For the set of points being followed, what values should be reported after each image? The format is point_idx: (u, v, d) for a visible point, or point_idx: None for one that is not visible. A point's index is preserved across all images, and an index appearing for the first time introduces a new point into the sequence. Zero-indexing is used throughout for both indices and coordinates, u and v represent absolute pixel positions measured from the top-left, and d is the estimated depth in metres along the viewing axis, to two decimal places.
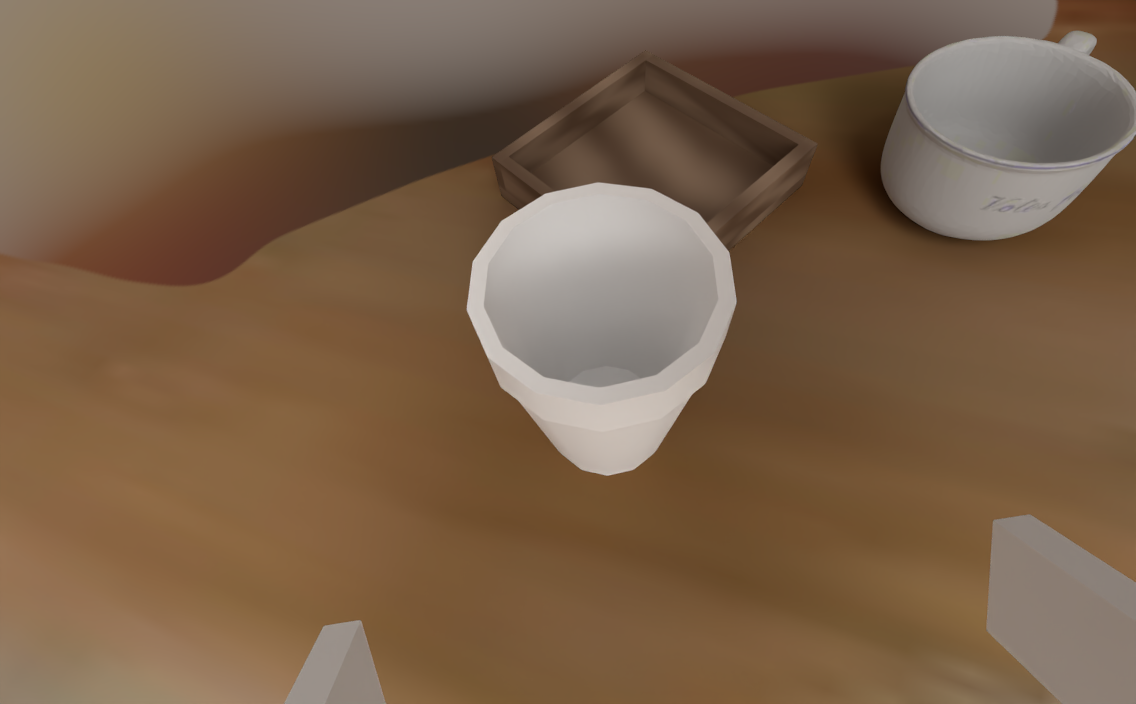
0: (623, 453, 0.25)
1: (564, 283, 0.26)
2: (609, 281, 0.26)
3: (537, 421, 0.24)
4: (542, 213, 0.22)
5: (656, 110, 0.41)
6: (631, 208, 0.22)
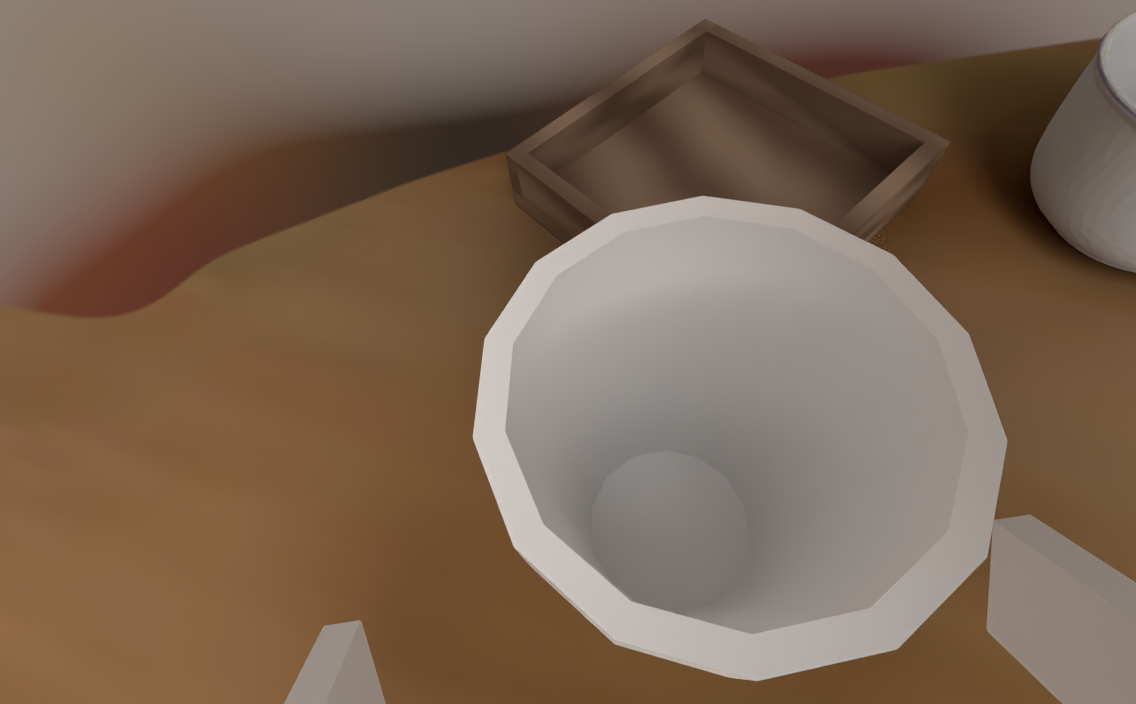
0: None
1: (626, 352, 0.16)
2: (693, 348, 0.17)
3: None
4: (606, 249, 0.12)
5: (717, 97, 0.32)
6: (760, 242, 0.13)
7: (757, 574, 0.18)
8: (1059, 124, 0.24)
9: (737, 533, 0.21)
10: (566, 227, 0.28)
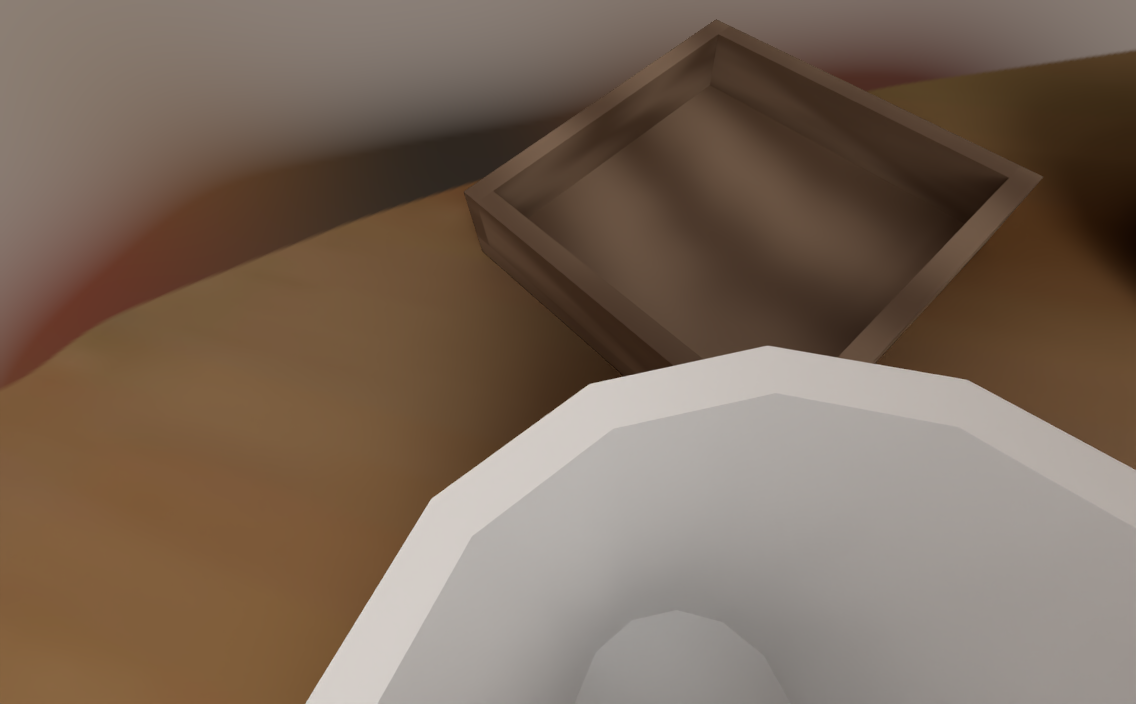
0: None
1: (620, 550, 0.10)
2: (728, 537, 0.10)
3: None
4: (579, 461, 0.06)
5: (731, 115, 0.26)
6: (884, 439, 0.06)
7: None
8: None
9: None
10: (543, 286, 0.21)
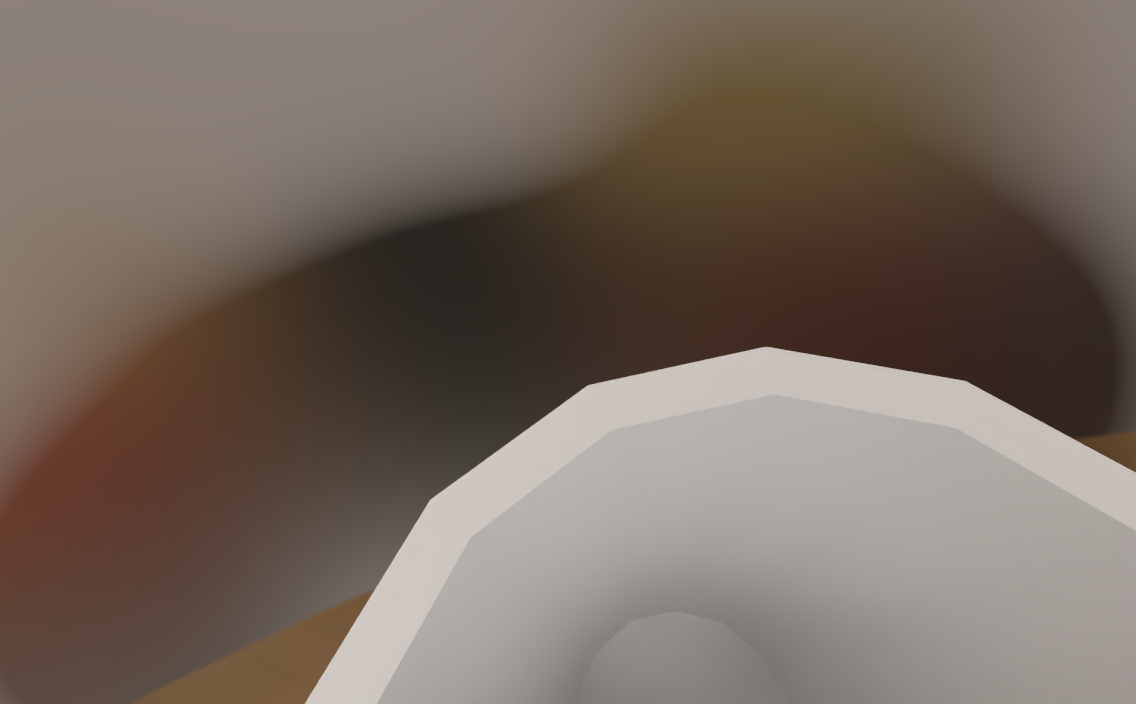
0: None
1: (619, 551, 0.10)
2: (728, 538, 0.10)
3: None
4: (578, 462, 0.06)
5: None
6: (882, 440, 0.06)
7: None
8: None
9: None
10: None
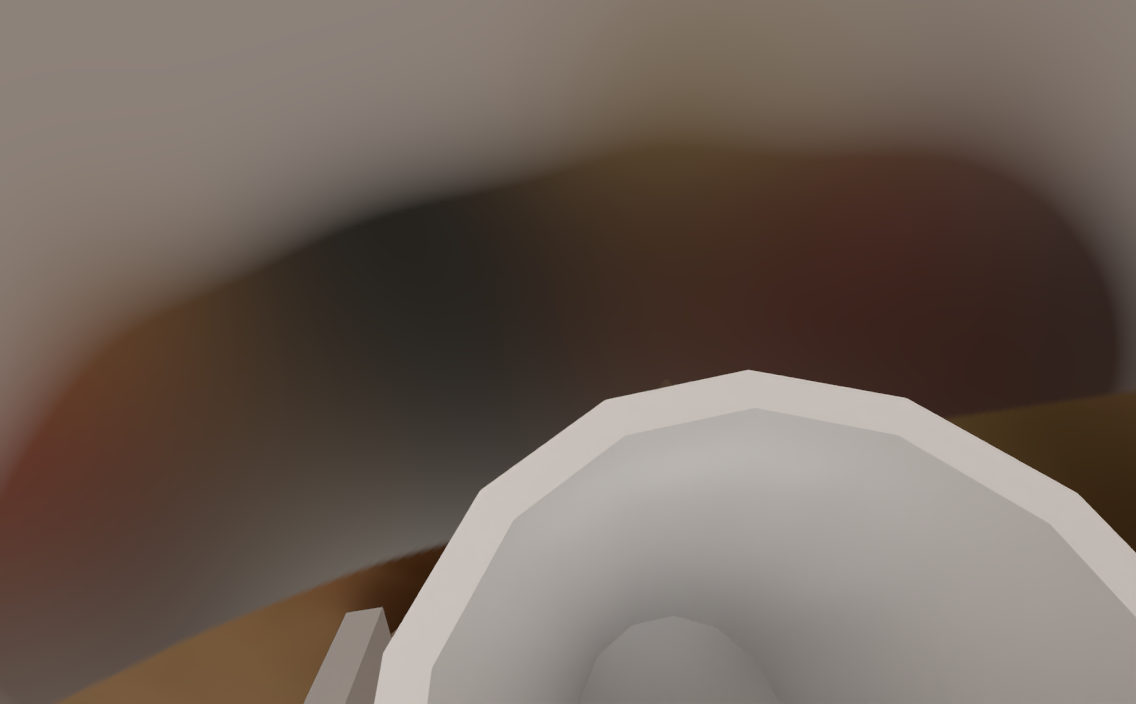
0: None
1: (625, 549, 0.11)
2: (719, 538, 0.12)
3: None
4: (597, 462, 0.08)
5: None
6: (842, 445, 0.08)
7: None
8: None
9: None
10: None
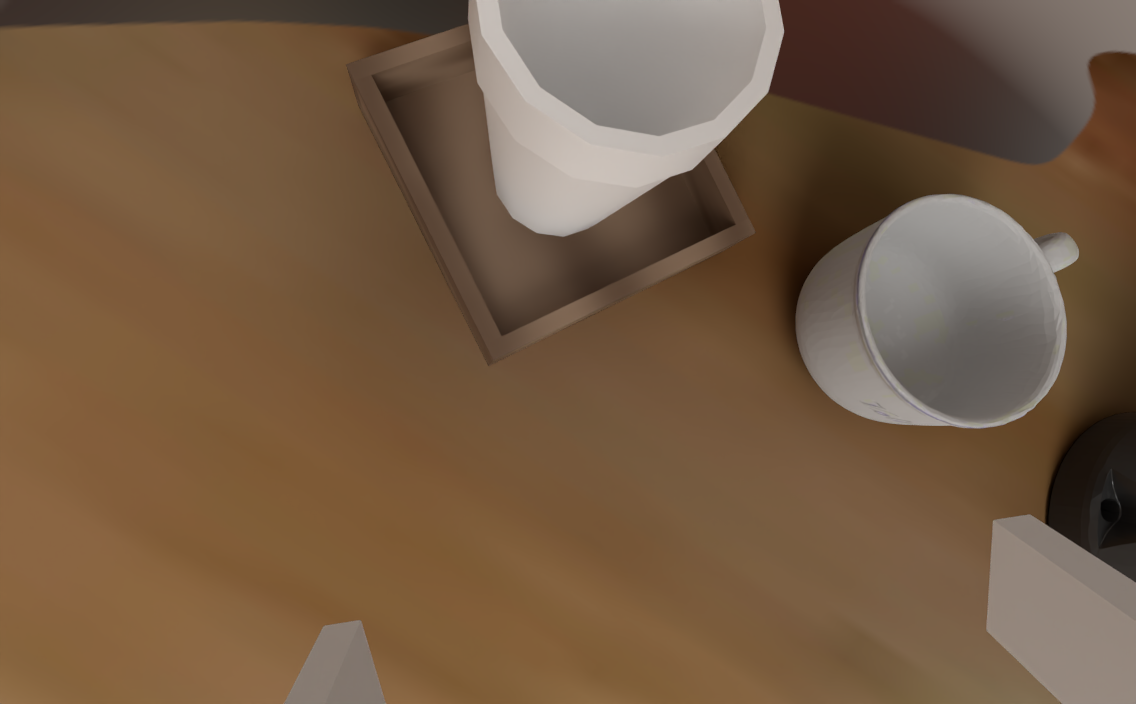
0: (569, 214, 0.24)
1: None
2: (626, 14, 0.22)
3: (495, 144, 0.21)
4: None
5: None
6: None
7: None
8: (835, 258, 0.28)
9: None
10: (393, 169, 0.27)
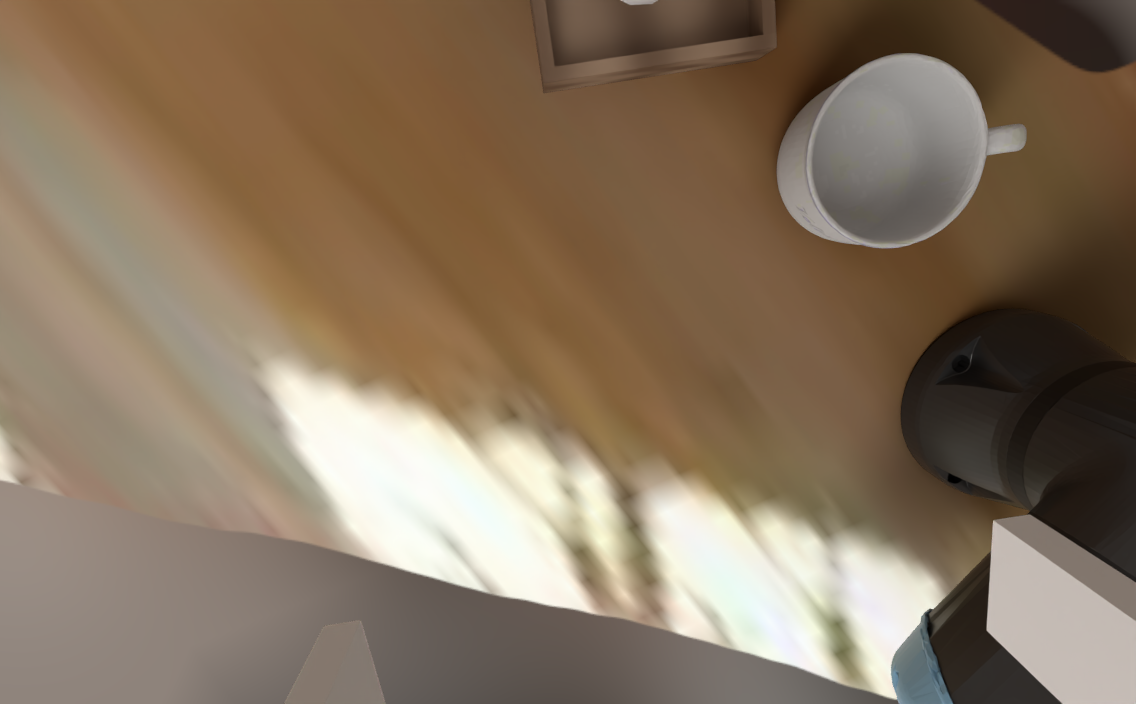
0: None
1: None
2: None
3: None
4: None
5: None
6: None
7: None
8: (828, 88, 0.35)
9: None
10: None
